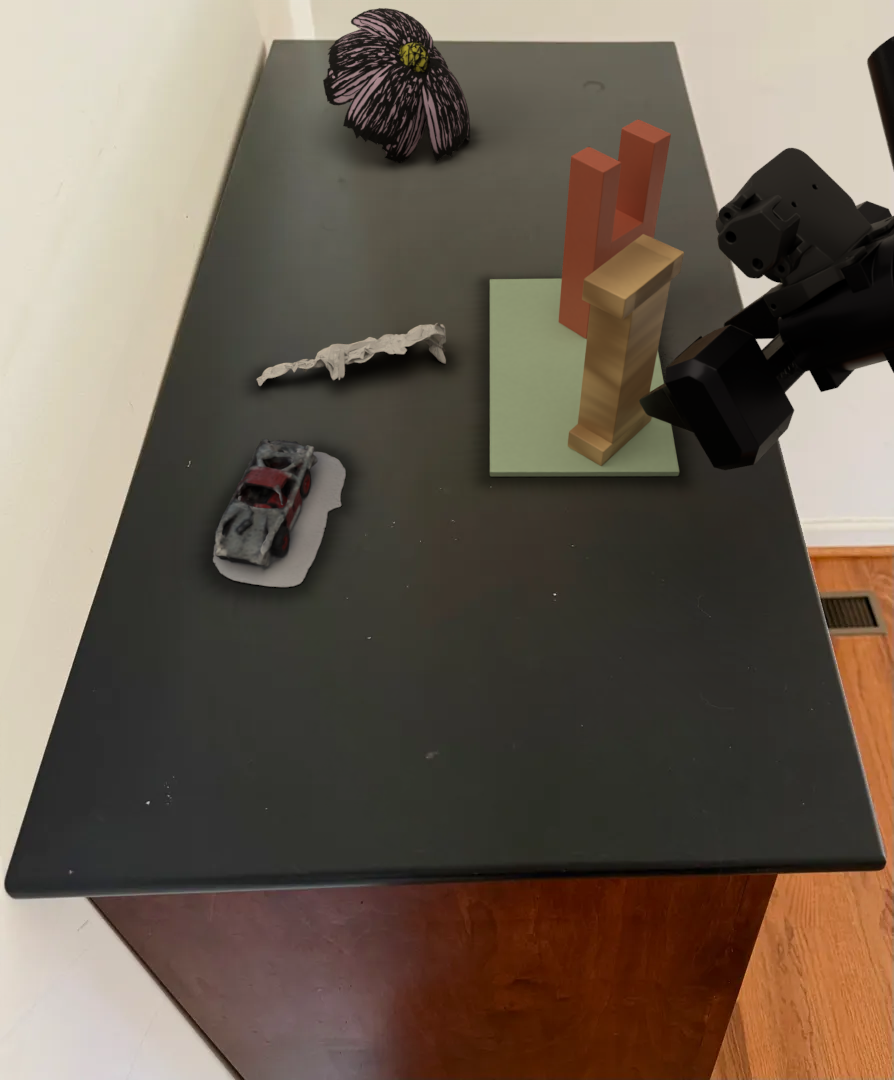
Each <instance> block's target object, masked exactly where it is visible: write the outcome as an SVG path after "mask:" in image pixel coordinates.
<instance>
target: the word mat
mask: <svg viewBox="0 0 894 1080" xmlns="http://www.w3.org/2000/svg"><path fill="white" fill-rule="evenodd" d="M561 282H562V277H561V278H494V279H493V278H490V279H489V477H678V476H679V475H680V467H679V461H678V456H677V449H676V445H675V439H674V433H673V427H672V424H669V423H667V422H664V421H661V420H659V419H656V418H653V417H652V418H651V421H650V422H649V423H648V424H647V425H646V426H644V427H643V428H642V429H641V430H640V431H639V432H638V433H637V434H636V435H635V436H634V437H633V438H631V439H630V440H629V441H628V442H627V443H626V444H625V445H624V446H623V447H622V448H621V449H620V450H618V451H617V452H616V453H615V454H614V455H613V456H612V457H611V458H610V459H609V460H608V461H606V462H605V463H604V464H603V465H602V466H600V465H598V464H597V463H595V462H593V461H592V460H590V459H588V458H586V457H585V456H583V455H581V454H580V453H578V452H576V451H575V450H573V449H571V448H570V447H568V436H569V431H570V430H571V429H572V428H574V427H575V426H576V425H577V424H578V416H579V407H580V398H581V389H582V380H583V371H584V361H585V352H586V343H587V339H585V338H583V337H582V336H580V335H579V334H577V333H575V332H574V331H572V330H570V329H569V328H567V327H566V326H564V325H562V324H561V323H559V322H558V321H559V308H560V295H561ZM663 376H664V375H663V371H662V363H661V359H660V353H659V350H658V351H657V356H656V362H655V367H654V372H653V378H652V383H651V388H650V392H651V391H652V390H654V389H656V388H657V387H659V386H661V385H662V384H664V383H665V380H664V377H663Z"/></svg>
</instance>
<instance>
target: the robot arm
mask: <svg viewBox="0 0 894 1080" xmlns="http://www.w3.org/2000/svg"><path fill="white" fill-rule="evenodd" d="M866 65H867V69H868V74H869V78H870V81H871V82H870V83H871V85H872V89H873V94H874V97H875V102H876V106H877V109H878V114H879V118H880V121H881V126H882V130H883V133H884V137H885V142H886V146H887V149H888V154H889V158H890V162H891V166H892V170H893V171H894V35H893V36H891V37H889V38H888V39H887V40H885V41H884V42H882V43H881V44H880V45H878V46H877V47H876V48H875V49H874V50H873V51H872V52H871V53H870V54H869V56H868V58H867V59H866ZM715 228H716V232H717V233H718V234H717V246H718V249H719V250H720V251H721V252H722V254H723V255H724V256H725V257H727V258H728V259H729V261H731V262H732V264H733V265H735V266H736V268H737V269H738V270H740V272H742V274H744V276H746V277H747V278H748V279H761V278H762V277H763V276H764V277H765V278H767V279H768V280H770V281H772V282H775V283H777V285H775V286H773V287H771V288H769V290H768V291H767V292H765V293H764V294H762V295H761V296H759V297H758V298H756V299H755V300H754V301H753V302H751V303H749V304H748V305H747V306H745V307H744V308H742V309H741V310H740V311H739V312H737V313H735V314H734V315H733V316H731V317H730V318H729V319H727V320H726V321H724V323H723V327H720V328H716V329H714V330H712V331H711V332H709V333H708V334H705V335H704V336H702V335H700V336H698V337H697V338H696V339H695V340H694V341H693V342H692V343H691V344H689V345H688V346H687V347H686V348H685V349H684V350H683V351H682V352H680V354H679V355H677V356H676V357H675V358H674V359H673V360H672V361H671V363H669V364H668V365H667V366H666V367H665V377H664V384H662V385H661V386H659V387H657V388H656V389H654V390H652V391H651V392H649V393H648V394H646V395H644V396H643V397H642V398H641V399H640V400H639V402H640V405H641V406H642V408H643V410H644V411H645V413H646V414H647V415H648V416H651V417H653V418H656V419H659V420H661V421H664V422H667V423H669V424H671V426H675V427H678V428H680V429H683V430H685V431H688V432H690V433H692V434H694V436H695V437H696V440H697V441H698V442H699V445H700V446H701V448H702V449H703V451H704V453H705V455H706V456H707V458H708V460H709V462H710V463H711V465H712V467H713V468H715V469H718V470H722V471H729V470H734V469H740V468H745V467H750V466H754V465H755V464H756V463H758V461H759V460H760V459H761V457H762V456H763V455H764V454H766V453H767V451H769V449H770V448H771V447H772V446H773V445H774V444H775V443H776V442H777V441H778V440H779V439H780V437H781V436H783V434H785V432H786V431H787V430H788V428H789V427H790V424H791V421H792V418H793V415H794V412H795V409H794V407H793V405H792V403H791V401H790V399H789V398H788V396H787V394H786V392H787V391H789V389H790V388H791V387H792V386H794V384H795V383H796V382H797V381H799V379H800V378H802V376H803V375H804V374H805V373H806V372H809V373H810V375H811V376H812V378H813V380H814V382H815V384H816V386H817V388H818V389H819V391H820V393H823V392H828V391H832V390H834V389H838V388H839V387H841V385H842V384H843V383H844V382H845V381H846V380H847V379H848V377H850V375H852V374H853V372H854V371H855V370H857V369H861V368H865V367H869V366H872V365H875V364H876V365H877V364H879V363H883V362H887V363H888V365H889V367H890V369H891V371H892V373H893V374H894V215H892V213H891V211H890V209H889V208H888V207H885V206H882V205H880V204H877V203H874V202H871V201H868V200H865V201H863V202H860V203H858V204H857V205H856V203H855V201H854V199H853V198H852V197H851V196H850V195H849V193H847V192H846V191H845V189H844V188H842V186H840V185H839V184H838V182H836V181H835V180H834V179H833V178H832V177H831V176H830V175H829V174H828V173H827V171H825V170H824V169H823V168H822V167H821V166H820V165H819V164H818V163H816V162H815V160H814V159H813V158H812V157H811V156H809V155H808V154H807V153H806V152H805V151H803V150H802V149H799V148H796V147H788V148H785V149H783V150H782V151H781V152H779V153H778V154H777V155H776V156H774V157H773V158H772V159H770V160H769V161H768V162H767V163H765V164H764V165H763V166H761V167H760V168H759V169H757V170H756V171H755V172H754V173H753V174H752V175H751V176H750V177H749V178H748V180H747V181H746V182H745V183H744V184H743V186H741V188H740V189H739V191H738V192H737V193H736V194H735V195H734V197H733V198H732V199H731V200H729V201H728V202H727V203H725V205H723V206H722V207H721V208H720V209H719V211H718V216H717V218H716V220H715ZM758 340H770V341H769V342H768V343H767V344H766V345H765V346H764V347H763V348H761V345H760V344H759V343H758Z"/></svg>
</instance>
